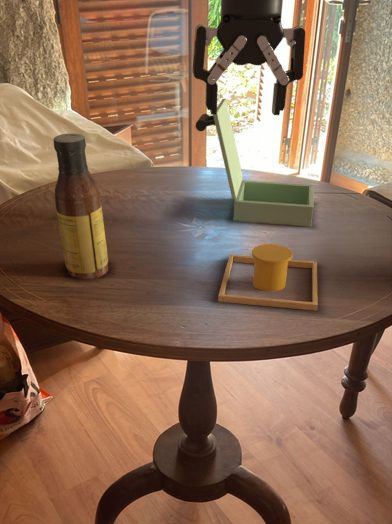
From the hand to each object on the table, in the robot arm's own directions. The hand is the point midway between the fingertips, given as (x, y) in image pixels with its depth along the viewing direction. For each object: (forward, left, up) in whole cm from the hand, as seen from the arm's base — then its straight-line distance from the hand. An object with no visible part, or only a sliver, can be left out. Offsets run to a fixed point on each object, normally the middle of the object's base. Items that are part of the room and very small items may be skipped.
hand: (244, 113), depth 77 cm
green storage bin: (-5, -20, -22) cm, 30 cm away
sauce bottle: (+21, +9, -22) cm, 32 cm away
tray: (-6, +8, -22) cm, 24 cm away
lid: (+4, -20, -10) cm, 22 cm away
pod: (-6, +9, -21) cm, 24 cm away
